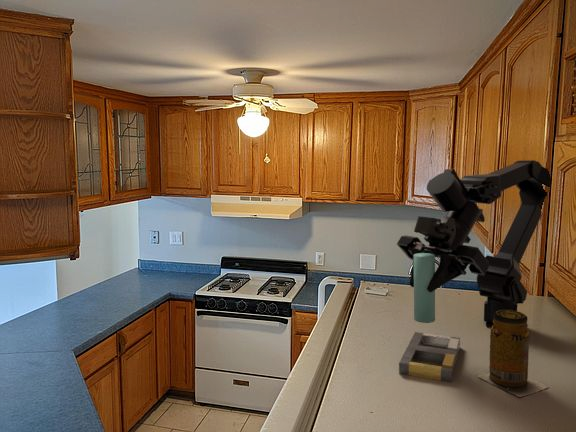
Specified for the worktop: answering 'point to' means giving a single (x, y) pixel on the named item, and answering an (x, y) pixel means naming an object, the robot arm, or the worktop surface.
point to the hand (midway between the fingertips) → (419, 288)
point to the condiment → (510, 354)
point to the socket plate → (430, 356)
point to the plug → (424, 288)
